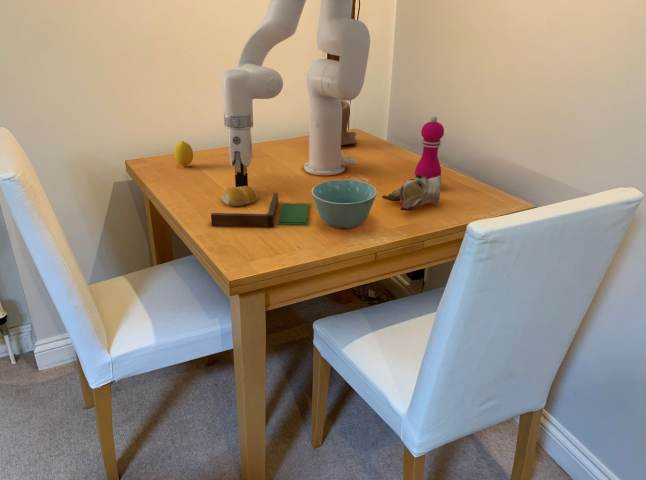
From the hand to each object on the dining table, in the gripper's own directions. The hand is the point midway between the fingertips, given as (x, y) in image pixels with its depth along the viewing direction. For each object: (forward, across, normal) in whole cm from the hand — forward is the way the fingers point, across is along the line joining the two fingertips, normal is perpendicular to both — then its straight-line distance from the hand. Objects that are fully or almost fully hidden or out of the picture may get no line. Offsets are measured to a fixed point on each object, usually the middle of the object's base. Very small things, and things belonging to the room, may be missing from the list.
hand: (241, 187), depth 161 cm
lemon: (+2, +20, +20) cm, 29 cm away
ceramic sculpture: (+1, -8, -47) cm, 47 cm away
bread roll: (+2, -7, 0) cm, 7 cm away
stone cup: (+1, +45, -26) cm, 52 cm away
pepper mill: (+1, +6, -52) cm, 52 cm away
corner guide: (+1, -15, -3) cm, 16 cm away
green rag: (+1, -15, -15) cm, 21 cm away
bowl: (+2, -19, -28) cm, 33 cm away
